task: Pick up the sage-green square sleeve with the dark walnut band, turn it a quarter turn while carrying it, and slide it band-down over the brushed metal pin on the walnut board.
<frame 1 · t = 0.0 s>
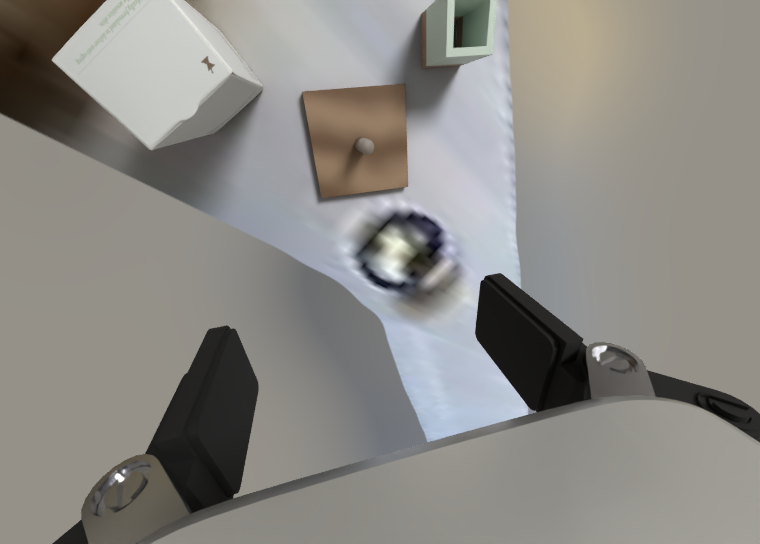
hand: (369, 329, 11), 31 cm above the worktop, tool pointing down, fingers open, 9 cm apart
sleeve: (442, 40, 33), on the worktop
skincare box: (217, 88, 31), on the worktop
pin board: (359, 143, 37), on the worktop
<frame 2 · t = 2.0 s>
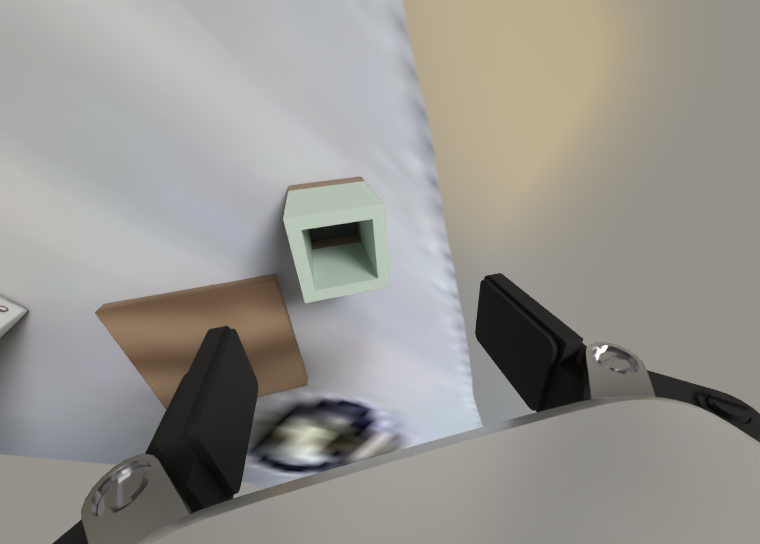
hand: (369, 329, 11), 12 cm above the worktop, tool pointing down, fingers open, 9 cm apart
sleeve: (331, 215, 21), on the worktop
pin board: (222, 346, 24), on the worktop
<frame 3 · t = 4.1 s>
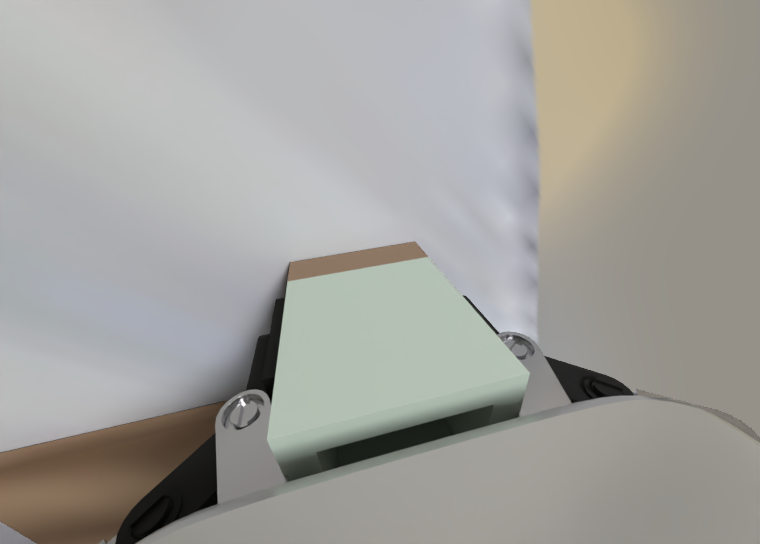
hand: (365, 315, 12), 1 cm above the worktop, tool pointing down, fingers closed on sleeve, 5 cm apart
sleeve: (361, 303, 12), on the worktop, touching gripper
pin board: (185, 489, 16), on the worktop
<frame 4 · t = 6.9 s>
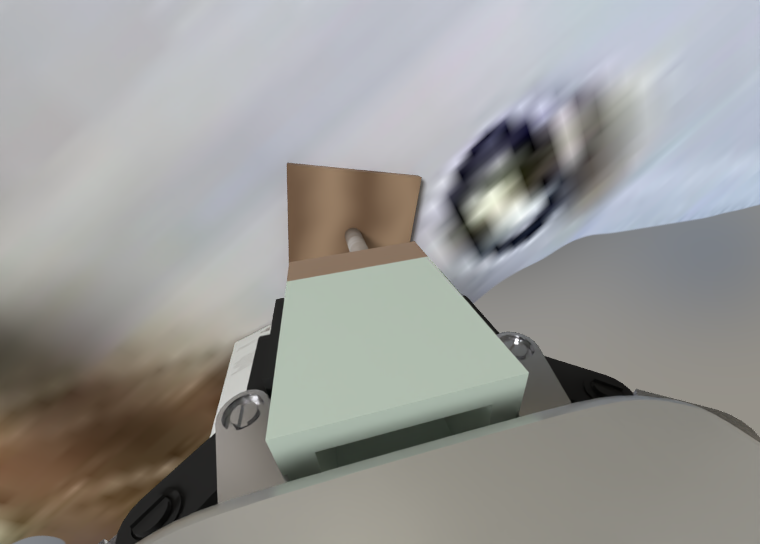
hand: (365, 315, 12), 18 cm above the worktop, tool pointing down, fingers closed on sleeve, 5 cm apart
sleeve: (361, 303, 12), point 17 cm above the worktop, touching gripper
skincare box: (282, 349, 34), on the worktop
pin board: (351, 232, 29), on the worktop
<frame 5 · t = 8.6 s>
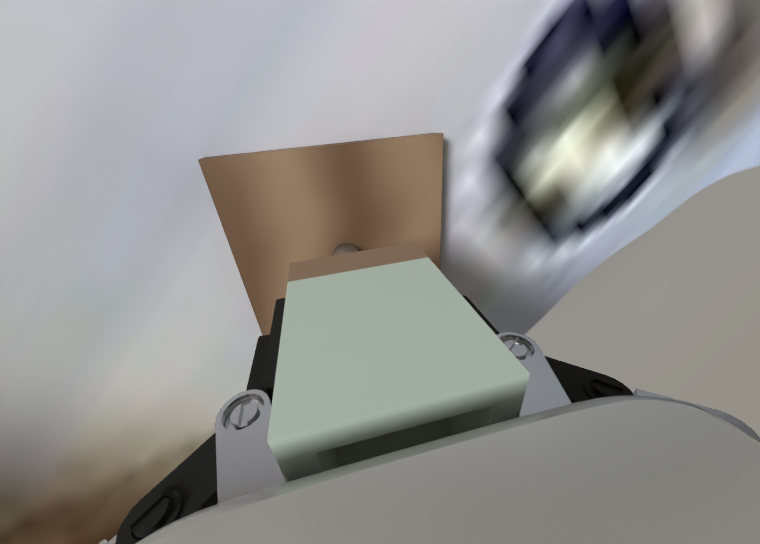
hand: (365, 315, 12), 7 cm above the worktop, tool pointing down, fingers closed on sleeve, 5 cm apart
sleeve: (361, 303, 12), point 6 cm above the worktop, touching gripper
pin board: (343, 248, 18), on the worktop
when the fingers open (4 cm above the worktop, at t = 10.0 s): sleeve drops 2 cm, resting on pin board.
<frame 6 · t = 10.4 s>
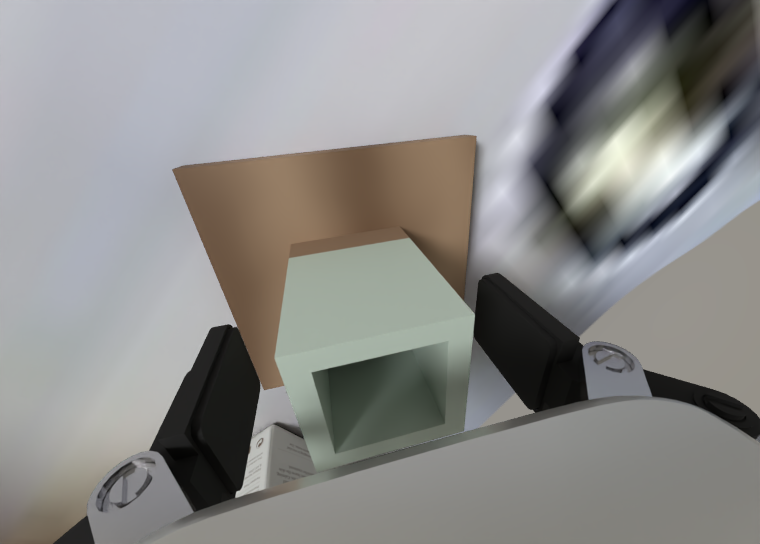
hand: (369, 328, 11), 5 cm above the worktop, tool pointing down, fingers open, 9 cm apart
sleeve: (354, 281, 14), point 1 cm above the worktop, touching pin board
skincare box: (285, 459, 21), on the worktop
pin board: (352, 271, 15), on the worktop
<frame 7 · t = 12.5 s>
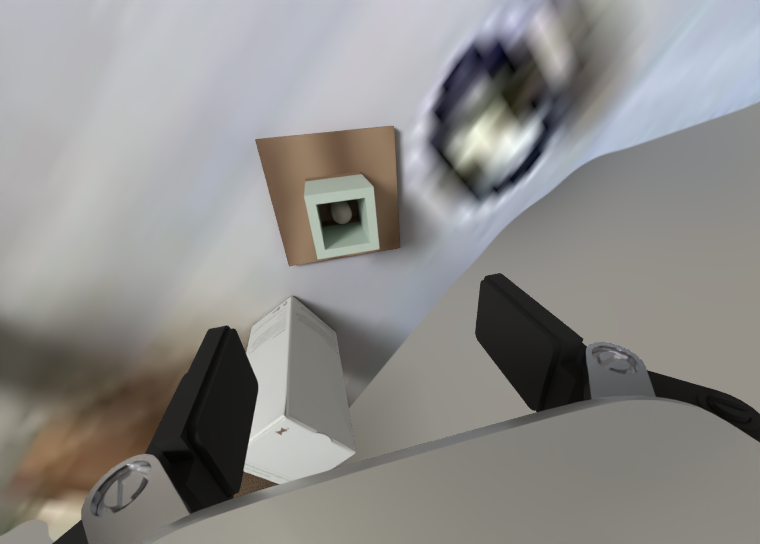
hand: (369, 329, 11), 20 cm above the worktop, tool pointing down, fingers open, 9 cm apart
sleeve: (337, 201, 28), point 1 cm above the worktop, touching pin board
skincare box: (298, 327, 35), on the worktop
pin board: (336, 198, 28), on the worktop
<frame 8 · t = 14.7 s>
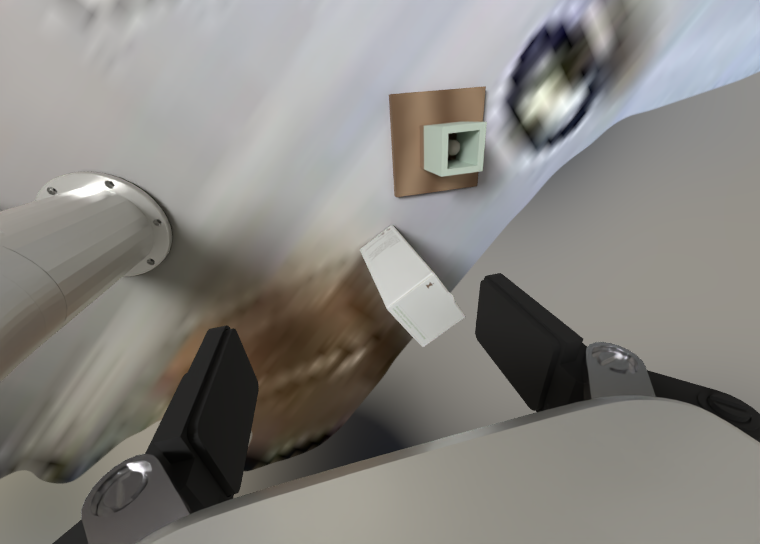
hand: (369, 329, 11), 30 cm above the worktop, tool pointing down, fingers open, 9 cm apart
sleeve: (438, 145, 37), point 1 cm above the worktop, touching pin board
skincare box: (391, 253, 44), on the worktop
pin board: (435, 144, 38), on the worktop
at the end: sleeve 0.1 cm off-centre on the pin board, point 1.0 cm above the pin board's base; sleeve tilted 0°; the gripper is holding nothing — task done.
